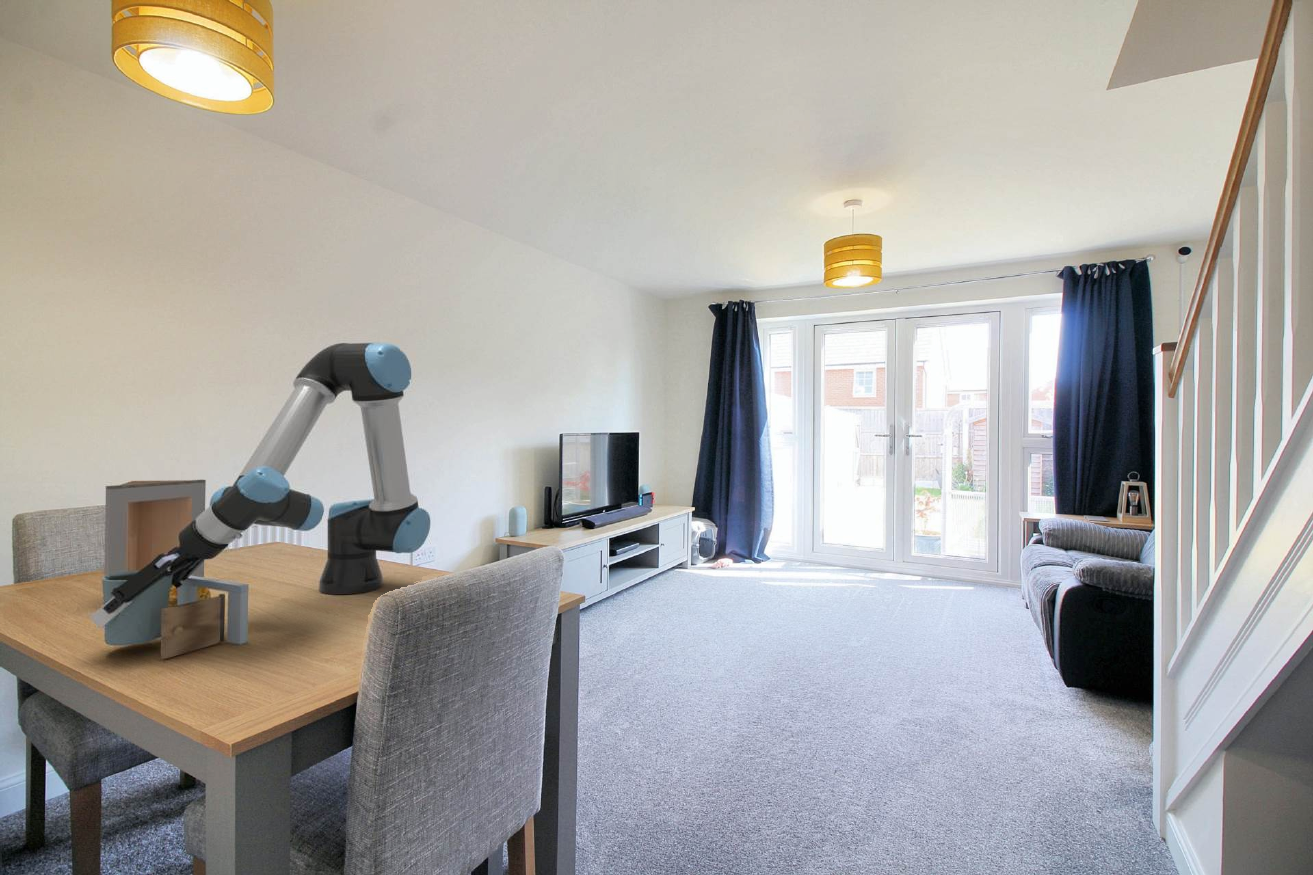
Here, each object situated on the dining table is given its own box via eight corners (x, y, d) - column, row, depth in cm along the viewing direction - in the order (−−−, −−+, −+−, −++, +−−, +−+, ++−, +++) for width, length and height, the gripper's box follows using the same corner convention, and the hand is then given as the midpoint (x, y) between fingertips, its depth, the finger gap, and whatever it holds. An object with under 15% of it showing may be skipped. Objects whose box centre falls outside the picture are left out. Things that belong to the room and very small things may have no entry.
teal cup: (88, 649, 106) (91, 581, 106) (113, 631, 116) (115, 569, 116) (159, 643, 110) (162, 578, 110) (178, 626, 120) (180, 567, 120)
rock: (175, 638, 130) (133, 610, 126) (171, 634, 136) (132, 607, 132) (220, 596, 137) (182, 568, 133) (215, 594, 143) (178, 567, 139)
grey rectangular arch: (247, 641, 119) (248, 584, 118) (239, 644, 117) (241, 586, 117) (184, 629, 124) (185, 574, 124) (176, 631, 123) (177, 576, 123)
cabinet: (108, 608, 136) (110, 486, 136) (81, 603, 139) (83, 484, 139) (203, 586, 156) (205, 479, 155) (178, 582, 159) (180, 477, 158)
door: (222, 640, 118) (223, 593, 118) (229, 641, 117) (230, 594, 117) (160, 658, 109) (161, 607, 109) (167, 660, 108) (168, 609, 108)
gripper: (187, 557, 104) (84, 648, 102) (259, 536, 126) (175, 610, 124) (155, 526, 103) (51, 617, 101) (233, 510, 125) (148, 584, 123)
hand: (119, 613), depth 113 cm, fingers closed on teal cup, 10 cm apart
